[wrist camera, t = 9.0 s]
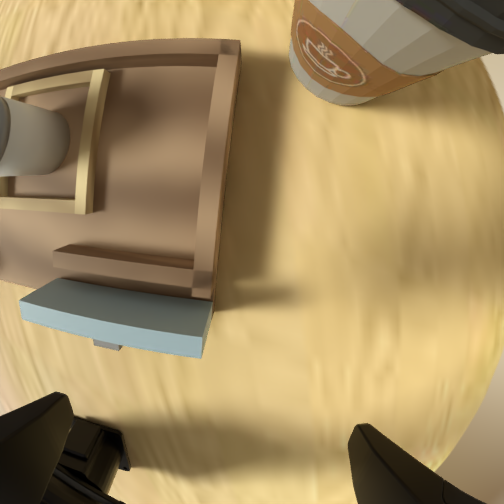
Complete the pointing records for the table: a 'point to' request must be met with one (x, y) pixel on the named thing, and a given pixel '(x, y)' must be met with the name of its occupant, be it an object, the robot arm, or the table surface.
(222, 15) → the table surface
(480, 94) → the table surface
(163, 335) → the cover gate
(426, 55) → the coffee cup
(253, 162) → the table surface
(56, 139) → the pin
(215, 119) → the tray
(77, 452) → the robot arm
